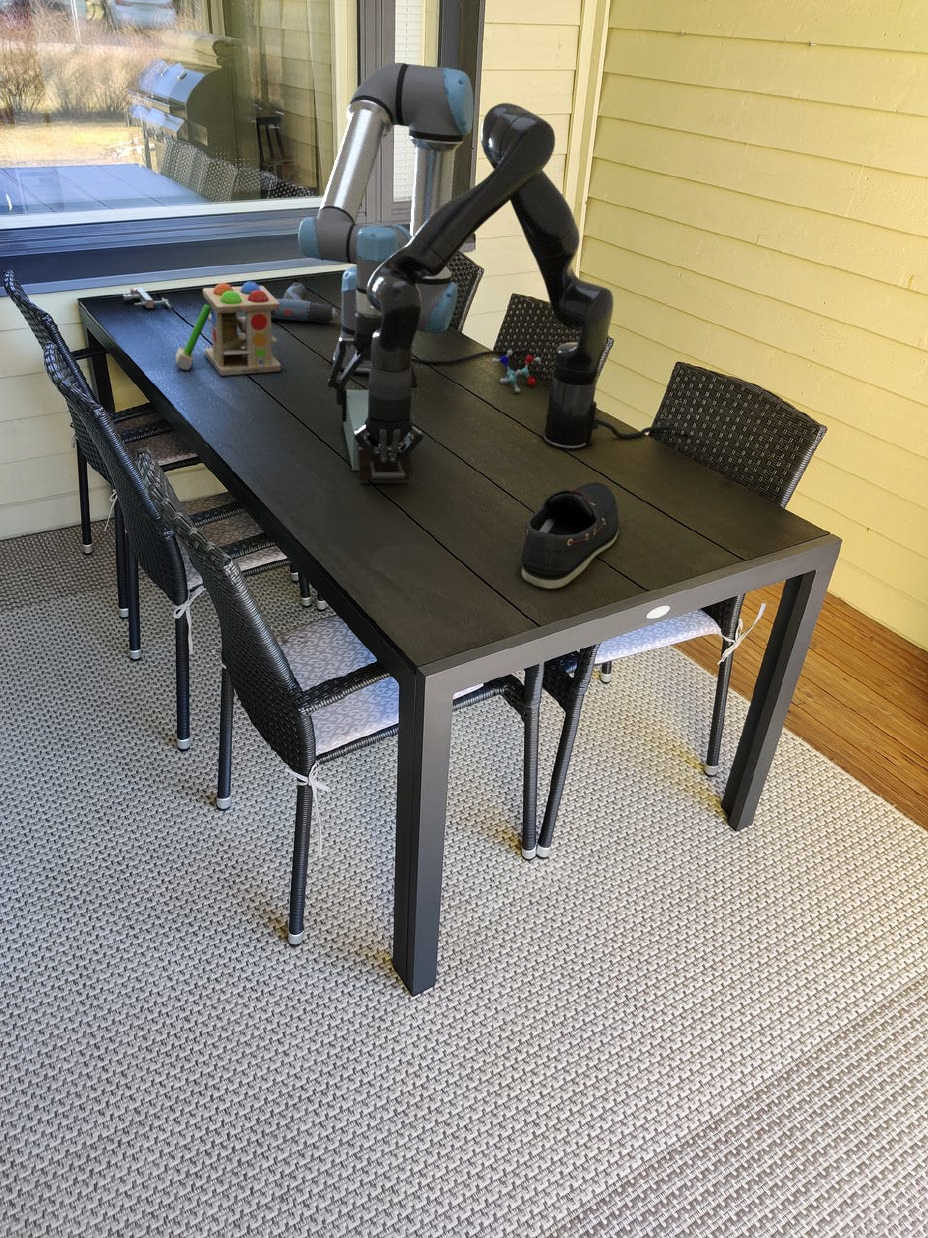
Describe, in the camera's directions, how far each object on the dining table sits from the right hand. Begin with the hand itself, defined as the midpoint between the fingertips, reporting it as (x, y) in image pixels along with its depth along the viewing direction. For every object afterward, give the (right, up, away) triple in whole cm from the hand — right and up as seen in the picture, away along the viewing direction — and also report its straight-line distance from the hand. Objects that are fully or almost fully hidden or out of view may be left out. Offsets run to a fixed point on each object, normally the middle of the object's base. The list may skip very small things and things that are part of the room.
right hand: (386, 478), depth 182 cm
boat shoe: (+33, -13, -9) cm, 36 cm away
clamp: (-71, +58, +80) cm, 122 cm away
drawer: (-2, +4, +9) cm, 10 cm away
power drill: (-29, +57, +85) cm, 107 cm away
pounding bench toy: (-42, +34, +49) cm, 72 cm away
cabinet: (-4, +9, +18) cm, 20 cm away
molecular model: (+26, +30, +53) cm, 66 cm away
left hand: (-5, +15, +21) cm, 26 cm away
